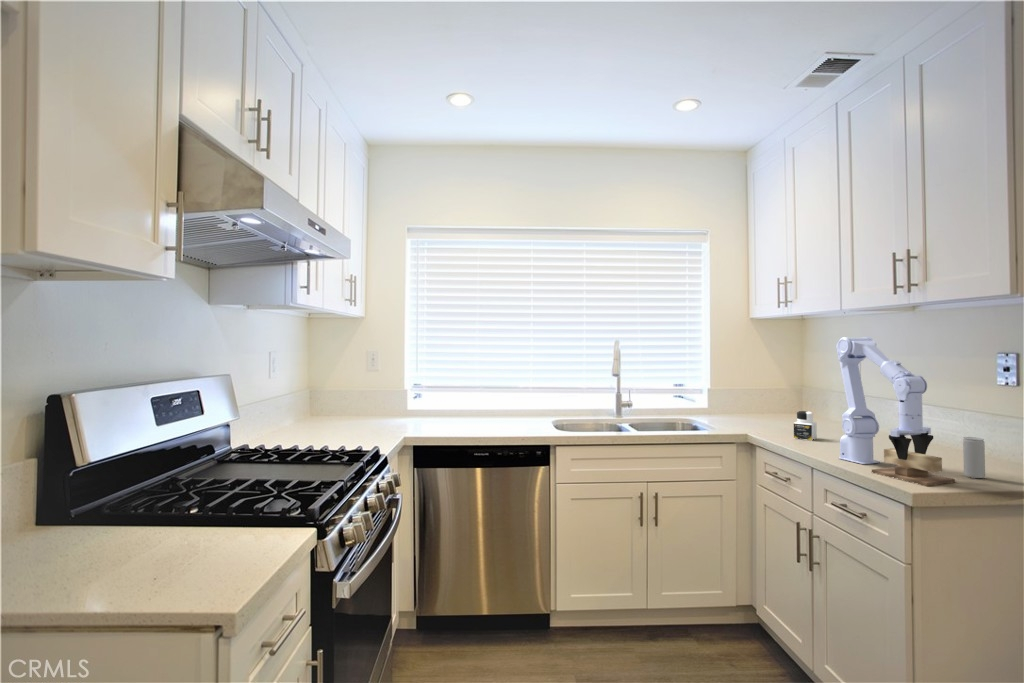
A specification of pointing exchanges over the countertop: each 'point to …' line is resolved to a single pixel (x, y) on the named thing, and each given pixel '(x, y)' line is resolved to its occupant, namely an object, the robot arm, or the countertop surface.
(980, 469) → the beverage can
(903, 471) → the fulcrum
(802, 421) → the medicine bottle
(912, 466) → the beam
